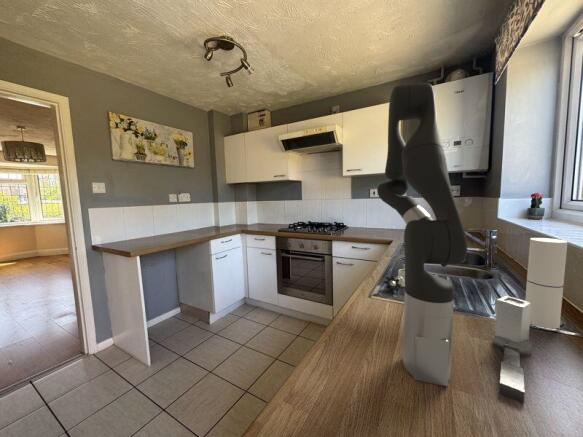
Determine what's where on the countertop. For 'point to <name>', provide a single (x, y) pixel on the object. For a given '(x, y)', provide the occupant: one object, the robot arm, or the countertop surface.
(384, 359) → the countertop surface
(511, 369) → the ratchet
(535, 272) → the cylindrical container
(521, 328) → the socket
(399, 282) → the valve
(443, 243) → the robot arm
